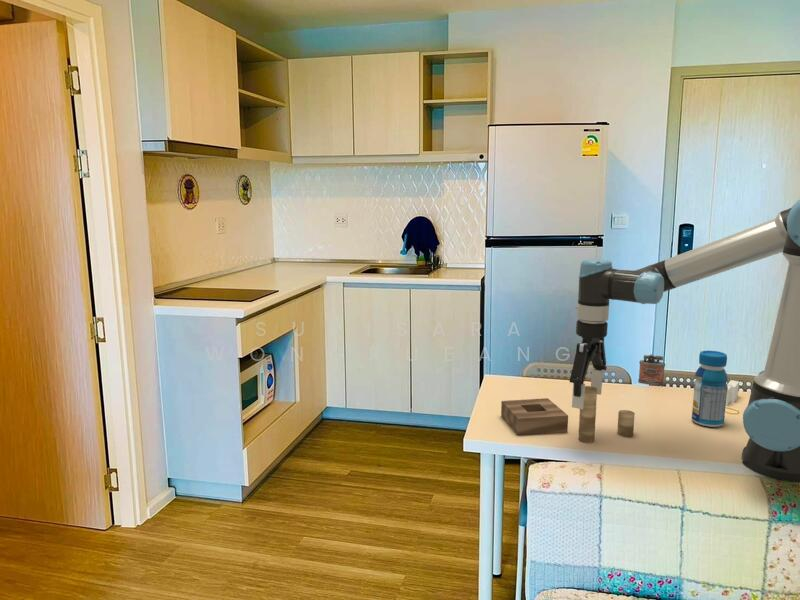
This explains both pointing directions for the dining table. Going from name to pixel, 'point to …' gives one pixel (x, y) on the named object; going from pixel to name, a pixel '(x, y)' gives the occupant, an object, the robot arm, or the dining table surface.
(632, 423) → the short pin
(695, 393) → the beverage bottle
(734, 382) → the napkin holder
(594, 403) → the long pin
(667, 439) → the dining table surface
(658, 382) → the lighter
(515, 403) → the pin block
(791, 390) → the robot arm
